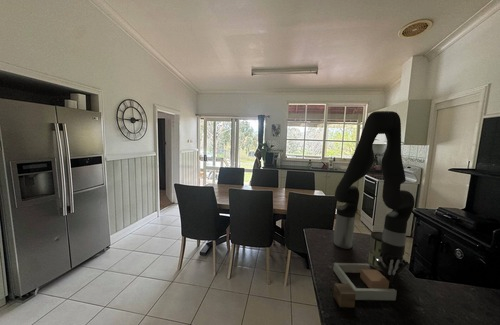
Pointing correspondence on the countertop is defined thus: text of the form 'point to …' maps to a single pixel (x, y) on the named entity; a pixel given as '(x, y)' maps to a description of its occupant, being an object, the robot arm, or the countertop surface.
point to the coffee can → (375, 248)
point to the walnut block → (344, 295)
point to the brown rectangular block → (374, 279)
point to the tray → (362, 292)
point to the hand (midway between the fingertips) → (388, 281)
